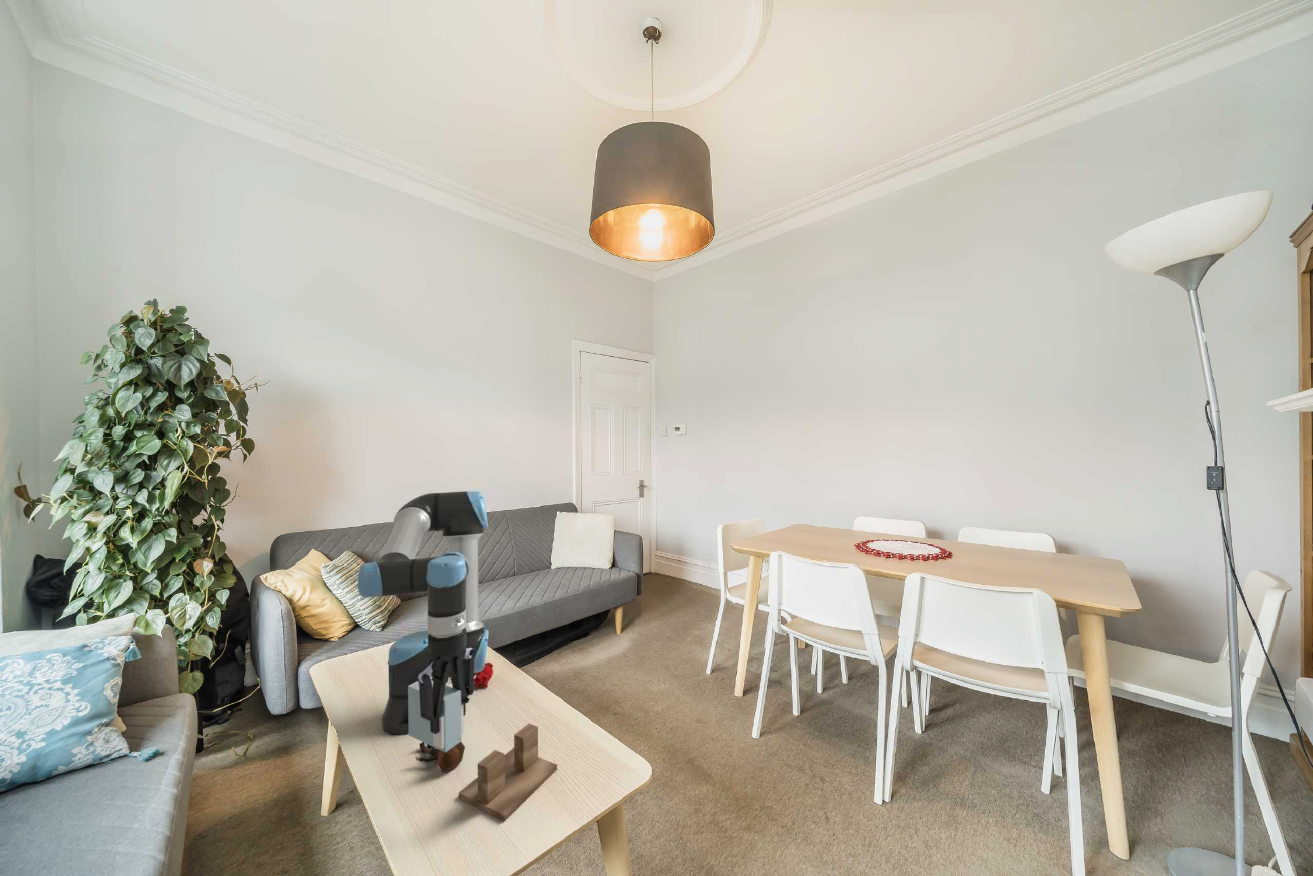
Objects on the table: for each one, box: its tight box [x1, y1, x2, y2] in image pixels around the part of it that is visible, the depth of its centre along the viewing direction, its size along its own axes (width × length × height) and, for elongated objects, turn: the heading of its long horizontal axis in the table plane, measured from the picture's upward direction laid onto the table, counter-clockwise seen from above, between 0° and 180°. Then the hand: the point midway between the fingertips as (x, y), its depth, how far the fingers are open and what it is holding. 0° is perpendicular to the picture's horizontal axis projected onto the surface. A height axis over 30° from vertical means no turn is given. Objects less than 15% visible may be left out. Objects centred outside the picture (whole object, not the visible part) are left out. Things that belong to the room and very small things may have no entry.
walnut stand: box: [458, 723, 558, 822], centre depth 109 cm, size 14×17×9 cm
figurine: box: [474, 662, 494, 689], centre depth 154 cm, size 6×8×15 cm
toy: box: [415, 741, 466, 773], centre depth 117 cm, size 10×7×15 cm
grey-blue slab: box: [408, 680, 462, 752], centre depth 102 cm, size 12×4×11 cm, turn 63°
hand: (448, 738), depth 100 cm, fingers closed on grey-blue slab, 4 cm apart
